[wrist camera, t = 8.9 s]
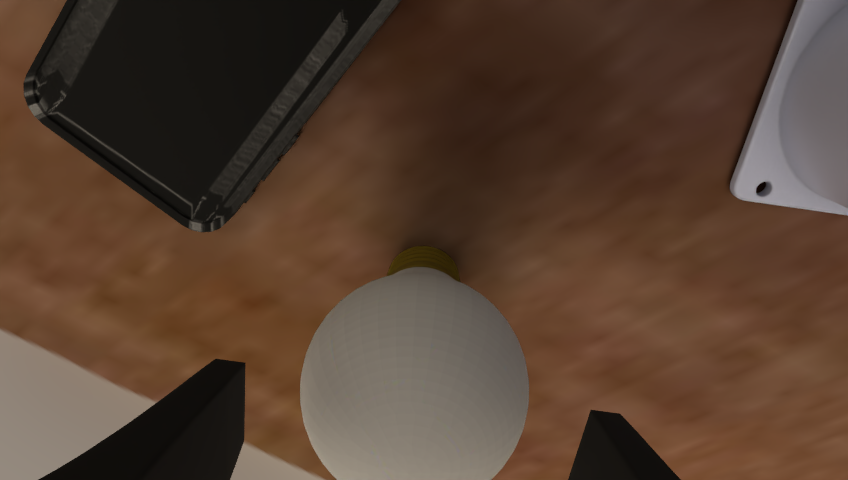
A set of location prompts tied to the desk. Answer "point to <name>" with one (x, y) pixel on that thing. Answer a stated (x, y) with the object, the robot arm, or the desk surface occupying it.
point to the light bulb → (415, 378)
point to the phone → (194, 89)
